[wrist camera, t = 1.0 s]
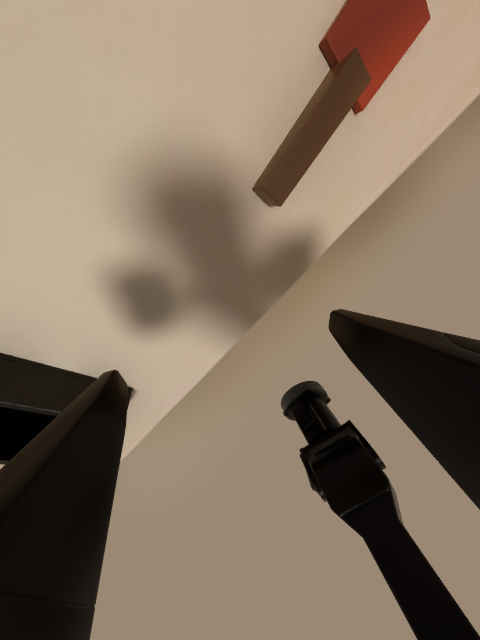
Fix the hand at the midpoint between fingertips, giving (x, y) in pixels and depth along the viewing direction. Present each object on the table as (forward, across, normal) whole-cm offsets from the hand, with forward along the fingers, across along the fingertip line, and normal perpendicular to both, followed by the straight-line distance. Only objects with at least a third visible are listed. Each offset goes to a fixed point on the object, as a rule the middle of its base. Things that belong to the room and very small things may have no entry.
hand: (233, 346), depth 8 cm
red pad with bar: (+12, -11, -10) cm, 19 cm away
